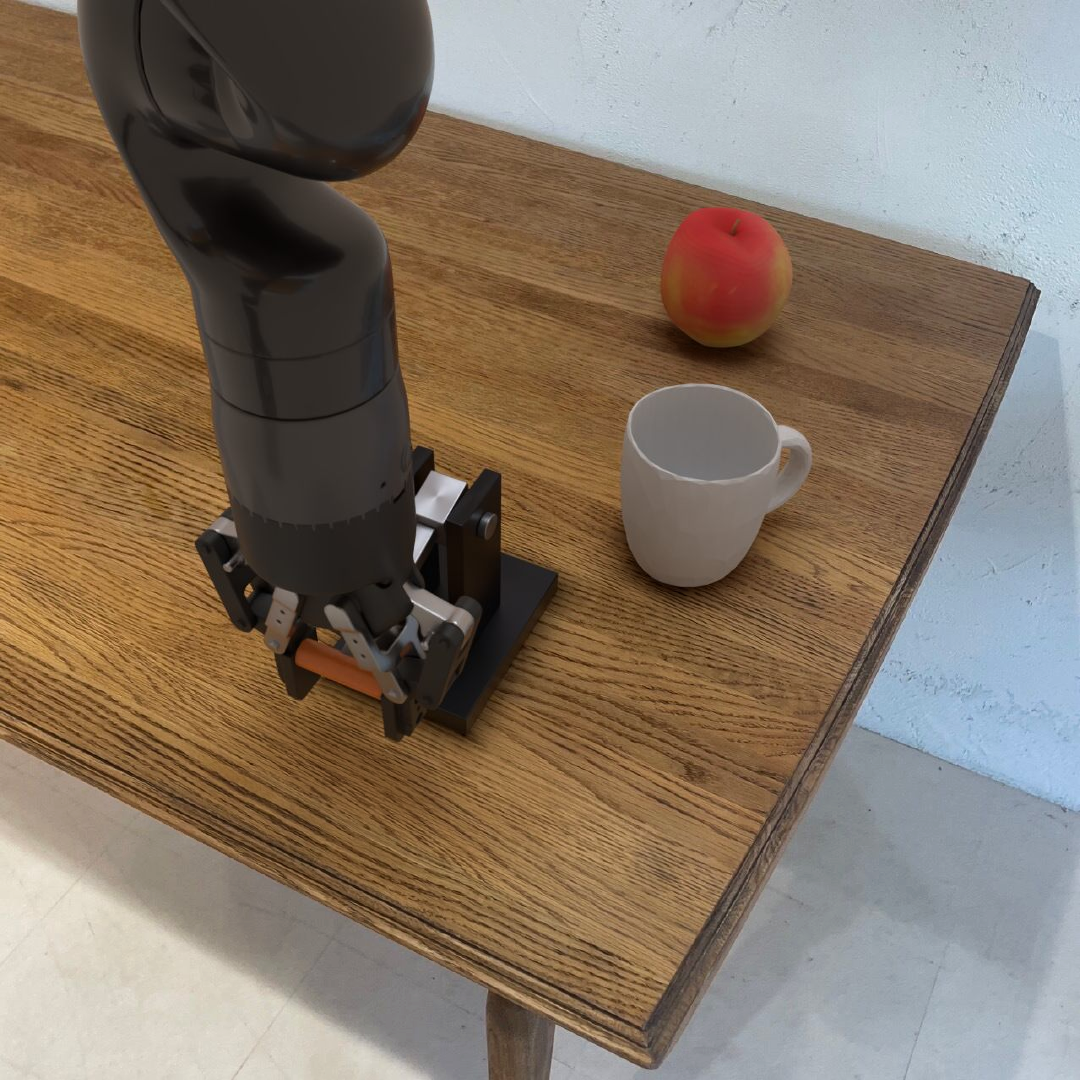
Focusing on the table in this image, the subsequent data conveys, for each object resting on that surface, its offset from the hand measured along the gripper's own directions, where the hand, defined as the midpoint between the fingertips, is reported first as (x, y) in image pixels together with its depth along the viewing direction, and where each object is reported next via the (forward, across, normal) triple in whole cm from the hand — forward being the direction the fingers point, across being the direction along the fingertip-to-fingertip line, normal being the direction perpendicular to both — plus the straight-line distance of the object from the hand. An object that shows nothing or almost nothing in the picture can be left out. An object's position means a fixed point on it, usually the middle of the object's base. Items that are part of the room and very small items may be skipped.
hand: (354, 705), depth 58 cm
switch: (-3, 0, +5) cm, 6 cm away
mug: (+5, +11, +24) cm, 27 cm away
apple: (+5, +4, +45) cm, 46 cm away
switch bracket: (+4, 0, +10) cm, 10 cm away
